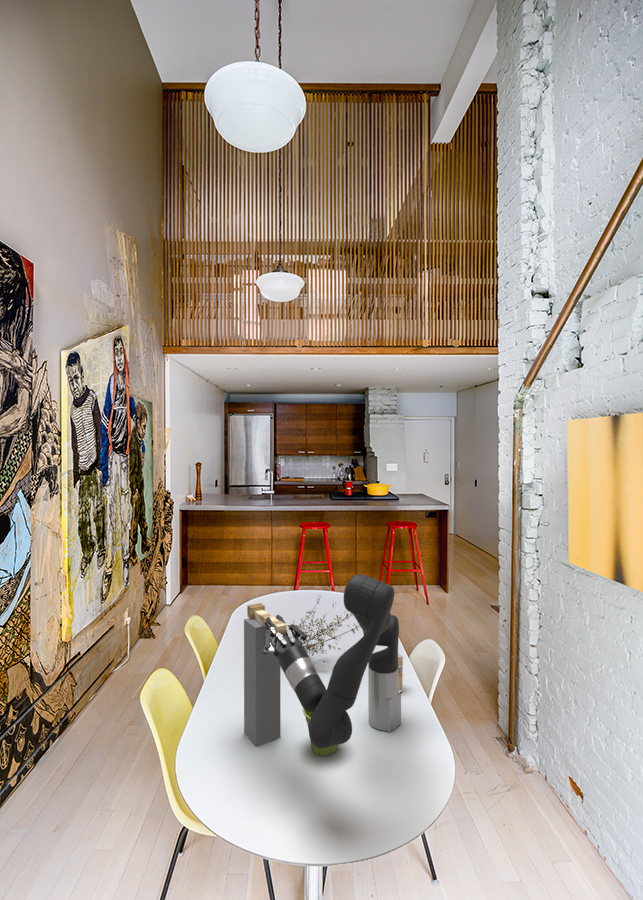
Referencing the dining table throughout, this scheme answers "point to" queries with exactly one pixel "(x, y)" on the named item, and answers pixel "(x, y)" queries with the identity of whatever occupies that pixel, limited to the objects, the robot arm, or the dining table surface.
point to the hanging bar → (260, 615)
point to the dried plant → (322, 632)
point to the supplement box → (400, 671)
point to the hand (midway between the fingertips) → (272, 618)
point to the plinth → (260, 687)
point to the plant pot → (315, 749)
